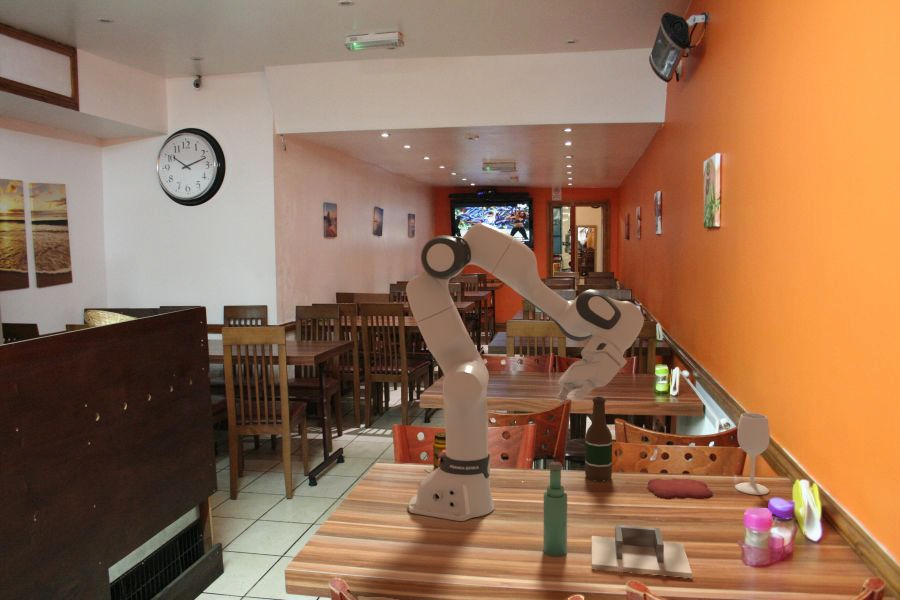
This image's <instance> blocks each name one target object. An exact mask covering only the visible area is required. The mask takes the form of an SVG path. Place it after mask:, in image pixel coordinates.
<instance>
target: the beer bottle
mask: <svg viewBox="0 0 900 600" xmlns="http://www.w3.org/2000/svg"><path fill="white" fill-rule="evenodd" d="M592 402H593V403H592V404H593V406H592V420H591V424H590V426H589V427H588V429H587V430H586V433H585V438H584V441H585V442H584V449H585V451H584V452H585V453H584V463H585V464H584V472H585V473H584V474H585V475H584V476H585V477H586V478H587V479H588V480H589V479H590V480H589V481H593V480H596V481H595V482H598V481H599V482H604V481H603V480H608V481H609V480H610V479H612V474H613V435H612V432H611V430H610V428H609V427H608V425H607V420H606V405H605V404H606V402H607V401H606V398H604V396H603V397H602V396H595V397H592Z"/></svg>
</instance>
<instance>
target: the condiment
mask: <svg viewBox="0 0 900 600" xmlns="http://www.w3.org/2000/svg"><path fill="white" fill-rule="evenodd" d="M433 437H434V442H433V444H432V446H433V448H432V449H433V454H432V457H433V458H432V461H433V463H432V465H433V468H429V469H425V470H424V471H426V472H427V473H428V474H430V473H432V472H433V471H434V470H436V469H437V468H438V467H439V465H438V459H439V456H440V453H441V452H442V450H446V432H438V433H435V434H434V436H433Z"/></svg>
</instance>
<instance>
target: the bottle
mask: <svg viewBox="0 0 900 600" xmlns="http://www.w3.org/2000/svg"><path fill="white" fill-rule="evenodd" d="M548 469H549V485H547V486H546V491H545V492H544V493H543V542H542V543H543V545H542V546H543V547H542V548H543V553H544V554H545V555H547V556H549V557H555V558H556V557H557V558H558V557H563V556H566V555H567V553H568V494H567V493H566V492H565V487H564V486H562V469H563V464H562V463H561V462H560V461H559V462H558V461H551V462H549V464H548Z"/></svg>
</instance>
